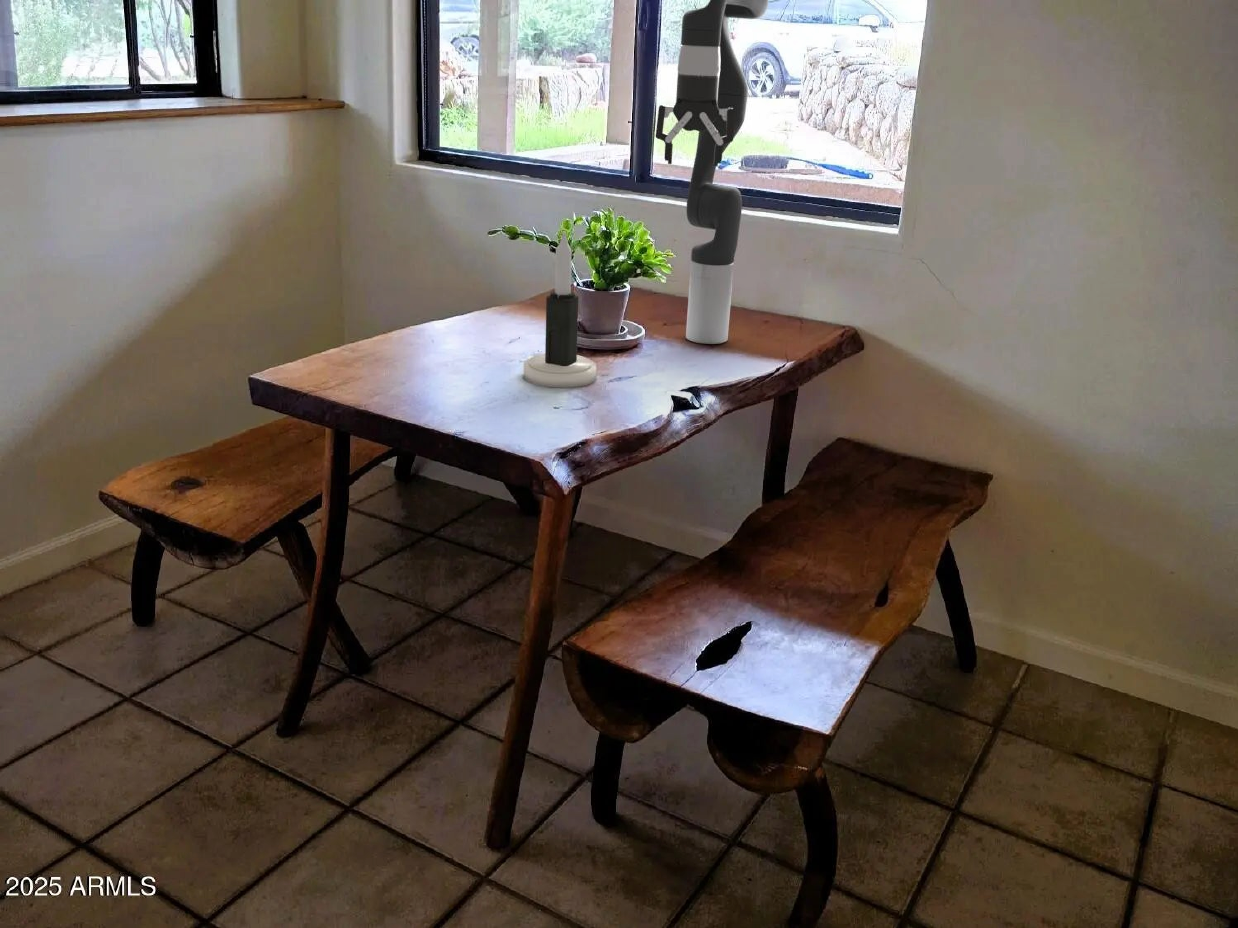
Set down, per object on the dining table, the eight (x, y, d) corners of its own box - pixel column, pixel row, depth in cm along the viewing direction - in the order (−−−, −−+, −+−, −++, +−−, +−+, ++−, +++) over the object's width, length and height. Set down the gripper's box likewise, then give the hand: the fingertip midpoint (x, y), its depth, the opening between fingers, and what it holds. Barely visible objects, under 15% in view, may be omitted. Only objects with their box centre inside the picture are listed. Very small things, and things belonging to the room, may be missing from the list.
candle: (578, 360, 217) (582, 230, 208) (566, 367, 213) (570, 234, 204) (555, 356, 219) (558, 227, 210) (542, 362, 215) (545, 231, 206)
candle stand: (528, 364, 224) (528, 349, 223) (598, 368, 223) (599, 353, 222) (518, 385, 211) (519, 370, 210) (593, 389, 210) (593, 374, 209)
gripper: (737, 74, 206) (730, 164, 212) (659, 70, 207) (654, 160, 213) (738, 75, 199) (731, 169, 205) (658, 71, 200) (653, 165, 206)
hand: (692, 164), depth 209 cm, fingers open, 8 cm apart
